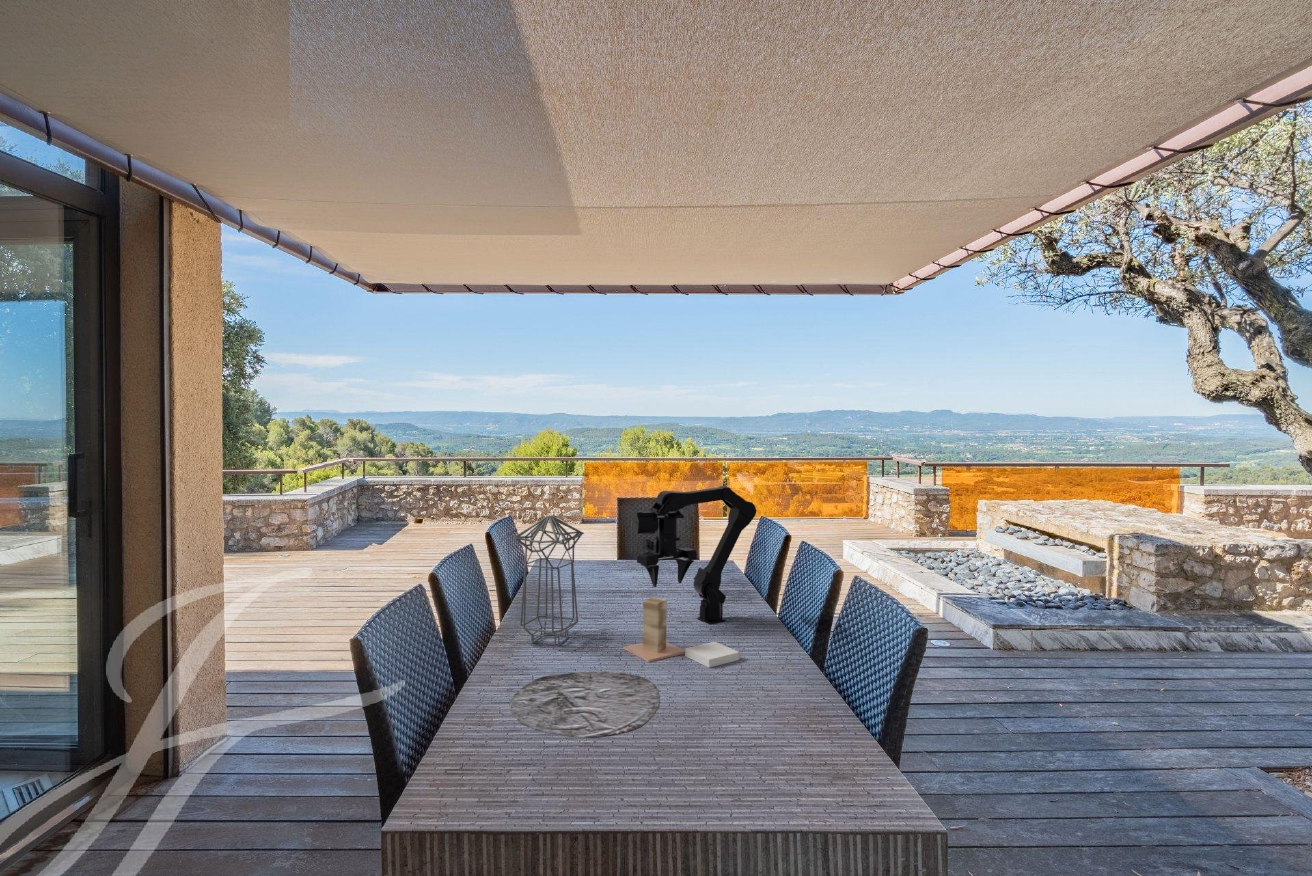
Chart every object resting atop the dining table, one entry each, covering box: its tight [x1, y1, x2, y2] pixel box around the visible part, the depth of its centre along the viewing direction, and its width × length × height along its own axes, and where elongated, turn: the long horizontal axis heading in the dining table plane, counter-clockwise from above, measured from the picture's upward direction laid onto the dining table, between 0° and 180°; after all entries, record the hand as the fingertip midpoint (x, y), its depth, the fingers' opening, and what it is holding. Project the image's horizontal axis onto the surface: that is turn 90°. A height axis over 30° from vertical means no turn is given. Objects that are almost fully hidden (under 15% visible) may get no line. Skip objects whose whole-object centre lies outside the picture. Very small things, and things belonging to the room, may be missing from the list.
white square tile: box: [684, 641, 740, 668], centre depth 177 cm, size 10×10×2 cm
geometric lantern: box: [513, 515, 585, 646], centre depth 190 cm, size 16×16×35 cm
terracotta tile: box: [623, 641, 685, 663], centre depth 182 cm, size 12×12×1 cm
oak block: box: [642, 597, 668, 653], centre depth 181 cm, size 4×4×13 cm
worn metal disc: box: [509, 670, 661, 739], centre depth 149 cm, size 33×35×1 cm
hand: (667, 584), depth 205 cm, fingers open, 9 cm apart
